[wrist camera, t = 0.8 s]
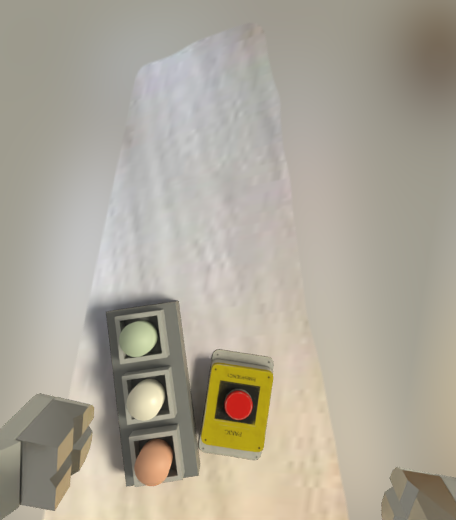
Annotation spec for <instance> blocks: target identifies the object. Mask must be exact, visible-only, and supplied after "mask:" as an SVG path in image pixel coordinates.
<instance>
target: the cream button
mask: <svg viewBox="0 0 456 520" xmlns="http://www.w3.org/2000/svg"><path fill="white" fill-rule="evenodd" d="M164 401H165V390H164V387H163V386H162V384H161V383H160V382H158V381H157V380H154V379H145V380H142V381H141V382H139V383H138V384H137V385H136V386H135V388H134V389H133V390H132V391H131V392H130V393H129V395H128V398H127V409H128V411H129V413H130V414H131V416H133V417H134V418H135V419H137V420H141V421H146V420H150V419H152V418H153V417H155V416H156V415H157V414H158V412H159V410H160V408H161V407H162V405H163V403H164Z"/></svg>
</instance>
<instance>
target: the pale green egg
mask: <svg viewBox="0 0 456 520" xmlns="http://www.w3.org/2000/svg"><path fill="white" fill-rule="evenodd" d="M157 340H158V332H157V329H156V328H155V326H154V325H153V324H152V323H150V322H148V321H145V320H140V321H136V322H134V323H131V324H129V325H127V326H126V327H125V328H124V329H123V330H122V331H121V333H120V337H119V344H120V347H121V349H122V351H123V352H124V353H125V354H127V355H129V356H131V357H140V356H143V355H145V354H146V353H148V352H149V351H150V350H151V349H152V348H153V347H154V346H155V345H156V343H157Z"/></svg>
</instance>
